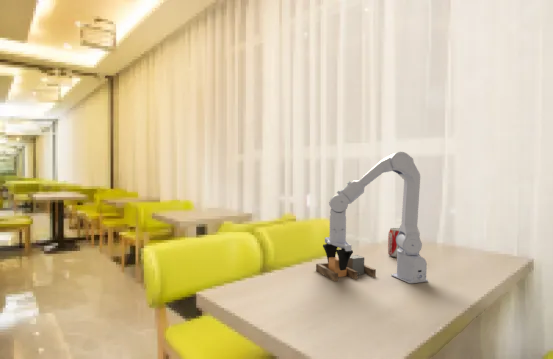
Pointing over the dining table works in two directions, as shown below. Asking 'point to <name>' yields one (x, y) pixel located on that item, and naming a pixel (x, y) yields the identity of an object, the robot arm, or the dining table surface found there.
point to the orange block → (336, 266)
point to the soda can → (393, 242)
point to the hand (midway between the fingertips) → (336, 266)
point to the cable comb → (324, 270)
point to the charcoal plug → (356, 263)
